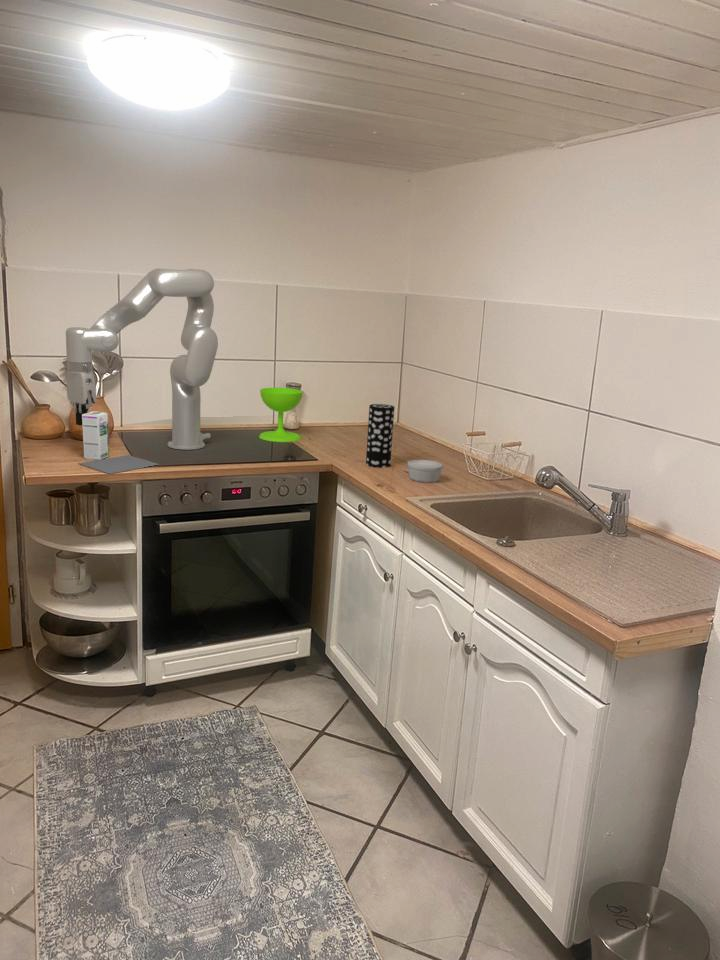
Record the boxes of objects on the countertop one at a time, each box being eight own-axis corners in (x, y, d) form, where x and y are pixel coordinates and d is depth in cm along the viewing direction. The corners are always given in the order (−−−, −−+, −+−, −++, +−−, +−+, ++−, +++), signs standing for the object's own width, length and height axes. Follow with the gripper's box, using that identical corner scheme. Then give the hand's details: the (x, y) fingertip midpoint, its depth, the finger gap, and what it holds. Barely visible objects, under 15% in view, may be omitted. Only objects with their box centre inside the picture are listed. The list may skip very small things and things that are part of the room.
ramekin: (419, 473, 245) (420, 457, 243) (448, 480, 238) (449, 464, 236) (399, 478, 236) (400, 462, 235) (428, 486, 229) (429, 469, 228)
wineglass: (250, 435, 287) (251, 388, 282) (284, 432, 297) (285, 386, 293) (275, 443, 275) (277, 394, 271) (309, 439, 286) (311, 392, 281)
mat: (128, 455, 243) (128, 455, 243) (159, 465, 234) (159, 464, 234) (78, 464, 229) (78, 463, 229) (109, 474, 220) (109, 473, 220)
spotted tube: (373, 468, 247) (376, 408, 242) (361, 462, 254) (365, 404, 249) (394, 467, 250) (399, 407, 245) (382, 461, 258) (386, 403, 253)
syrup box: (100, 460, 235) (98, 415, 232) (83, 458, 236) (81, 413, 233) (109, 456, 241) (108, 412, 237) (92, 454, 242) (91, 410, 238)
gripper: (104, 369, 235) (105, 427, 239) (77, 364, 243) (79, 419, 248) (82, 370, 229) (84, 429, 233) (55, 365, 238) (58, 422, 242)
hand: (81, 424), depth 241 cm, fingers closed
